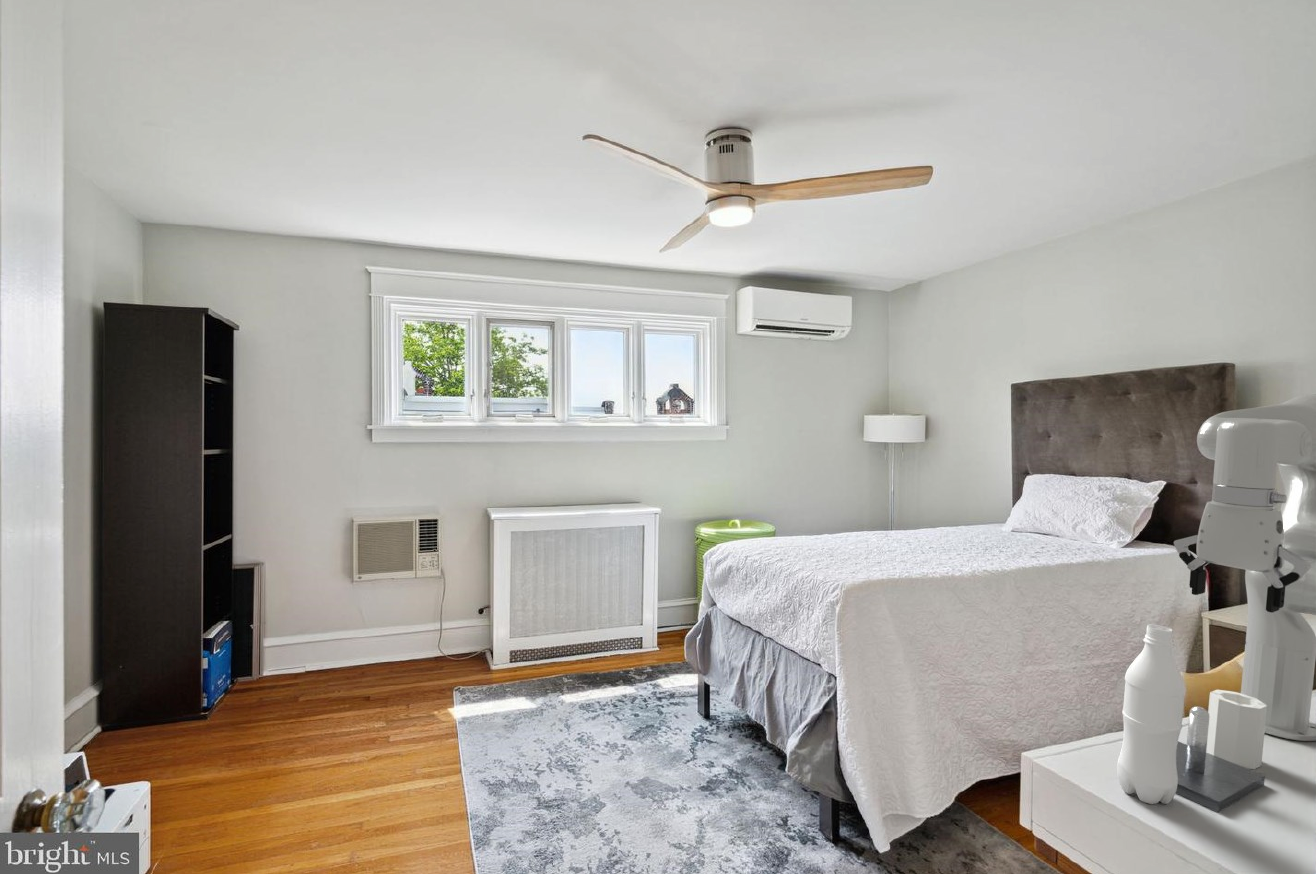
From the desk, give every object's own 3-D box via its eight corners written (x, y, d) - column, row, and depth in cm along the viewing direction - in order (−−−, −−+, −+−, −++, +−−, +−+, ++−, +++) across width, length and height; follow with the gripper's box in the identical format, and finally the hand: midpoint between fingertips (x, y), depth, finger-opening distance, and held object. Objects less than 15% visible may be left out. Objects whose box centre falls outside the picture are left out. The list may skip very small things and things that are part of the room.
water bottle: (1186, 813, 93) (1202, 639, 92) (1129, 805, 95) (1144, 633, 94) (1159, 785, 100) (1173, 623, 99) (1106, 777, 102) (1120, 617, 101)
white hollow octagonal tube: (1216, 744, 115) (1222, 687, 114) (1266, 763, 109) (1272, 703, 109) (1199, 752, 111) (1204, 694, 111) (1249, 772, 106) (1255, 711, 105)
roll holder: (1172, 748, 112) (1178, 683, 112) (1264, 785, 102) (1271, 714, 102) (1124, 770, 104) (1130, 700, 104) (1218, 812, 94) (1225, 735, 94)
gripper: (1324, 504, 101) (1314, 614, 102) (1189, 488, 116) (1182, 585, 117) (1305, 507, 97) (1295, 622, 98) (1168, 491, 112) (1161, 590, 113)
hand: (1233, 602), depth 107 cm, fingers open, 9 cm apart
